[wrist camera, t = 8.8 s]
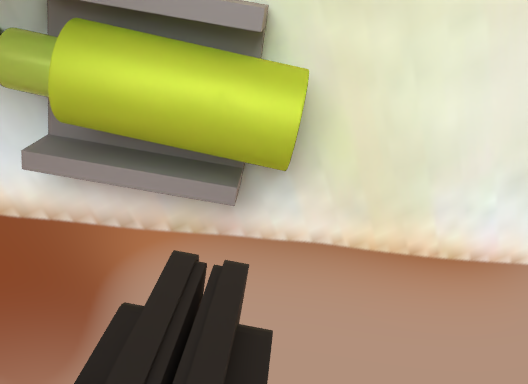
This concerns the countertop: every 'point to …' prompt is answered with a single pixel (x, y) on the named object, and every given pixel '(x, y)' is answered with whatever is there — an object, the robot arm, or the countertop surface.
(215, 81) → the soap dispenser
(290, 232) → the countertop surface
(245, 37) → the cradle
